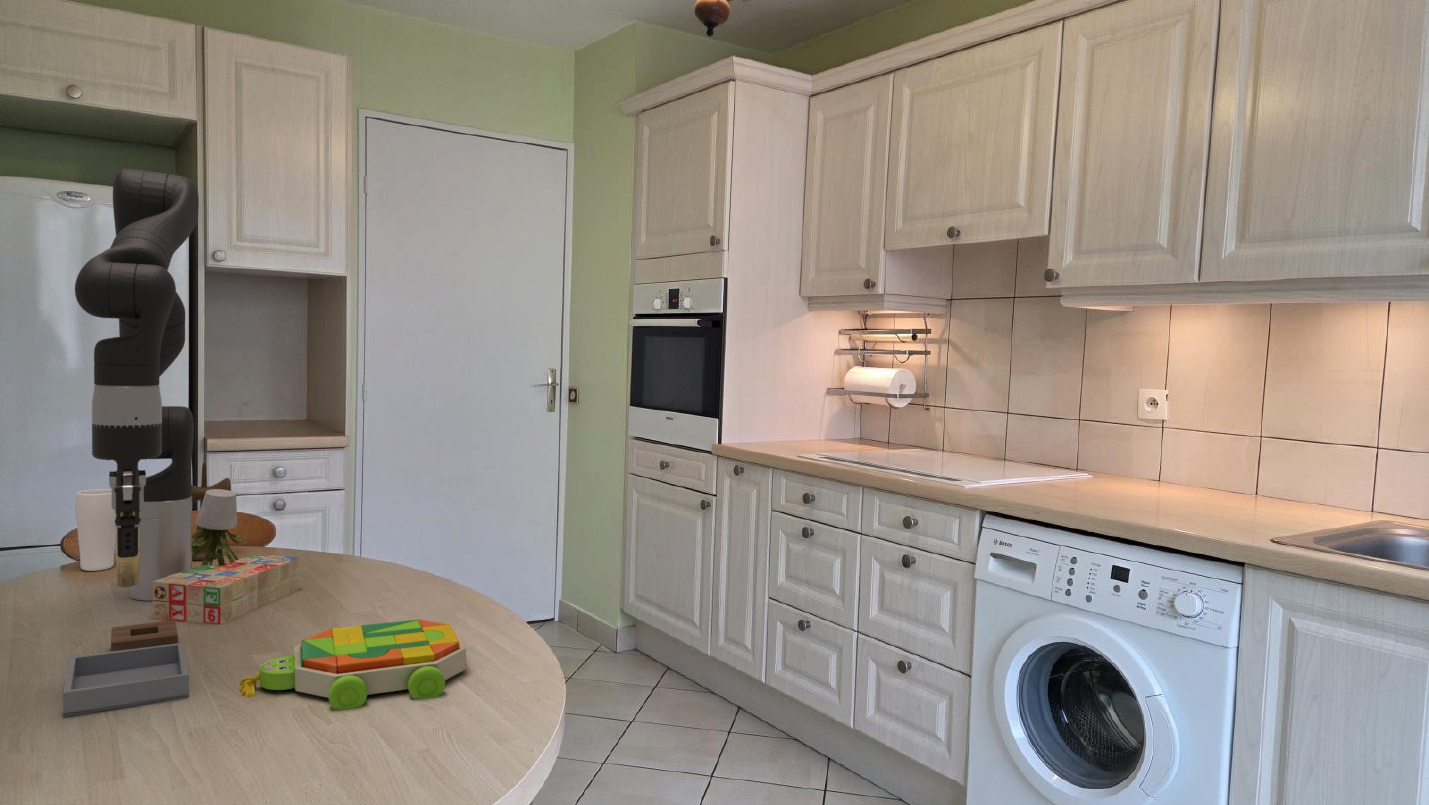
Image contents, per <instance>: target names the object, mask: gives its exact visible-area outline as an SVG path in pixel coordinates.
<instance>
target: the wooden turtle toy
mask: <svg viewBox="0 0 1429 805" xmlns="http://www.w3.org/2000/svg"><path fill="white" fill-rule="evenodd" d="M466 650H467V647H466V646H465V645H464V643H463V641H462V639H461V637H460V635H459V633H458V631H457V629H454V628H452V626H451V625H450V624H448V623H443V622H436V621H431V620H425V619H410V620H399V621H391V622H389V621H388V622H380V623H370V624H369V623H367V624H362V625H354V626H344V627H335V628H333V627H332V628H329V629H327V630H324V631H321V632H319V633H318V632H317V633H316V634H313V635H311V636H309V637H306V638H304V639H302V640H301V641H300V644H299V645H296V646H295V647H294V648H293V655H288V656H281V657H276V658H272V659H268V660H267V661H265V662H263V663H262V664H261V665H260V667H259V673H256V674H255V676H246V677H243V678H241V680H240V682H239V683H240V684H239V685H240V692H241V696H243V697H244V698H245V699H248V698H253V697H254V698H255V696H256V689H257V684H258V683H259V686H260V687H261V688H263V689H266V690H272V691H273V690H274V691H283V690H291V689H294V690H295V691H296V692H299V693H303V694H309V695H313V696H318V697H324V698H328V702H329V705H330V707H331V708H332V709H333V710H335V711H340V710H341V711H342V710H347V709H355V708H359V707H363V705H364V704H365V702H366V700H367V697H368V696H369V695H370V696H371V695H376V694H377V695H378V694H382V693H390V692H397V691H404V690H405V691H407V690H408V692H409V695H410V697H411V698H412V700H420V699H426V698H435V697H439V696H441V695H442V694H443V692H444V690H445V688H446V681H447V680H449V679H450V678H452V677H455V676H456V675H458V674H460V673H462V672H463V671H466V669H467V651H466Z"/></svg>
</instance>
